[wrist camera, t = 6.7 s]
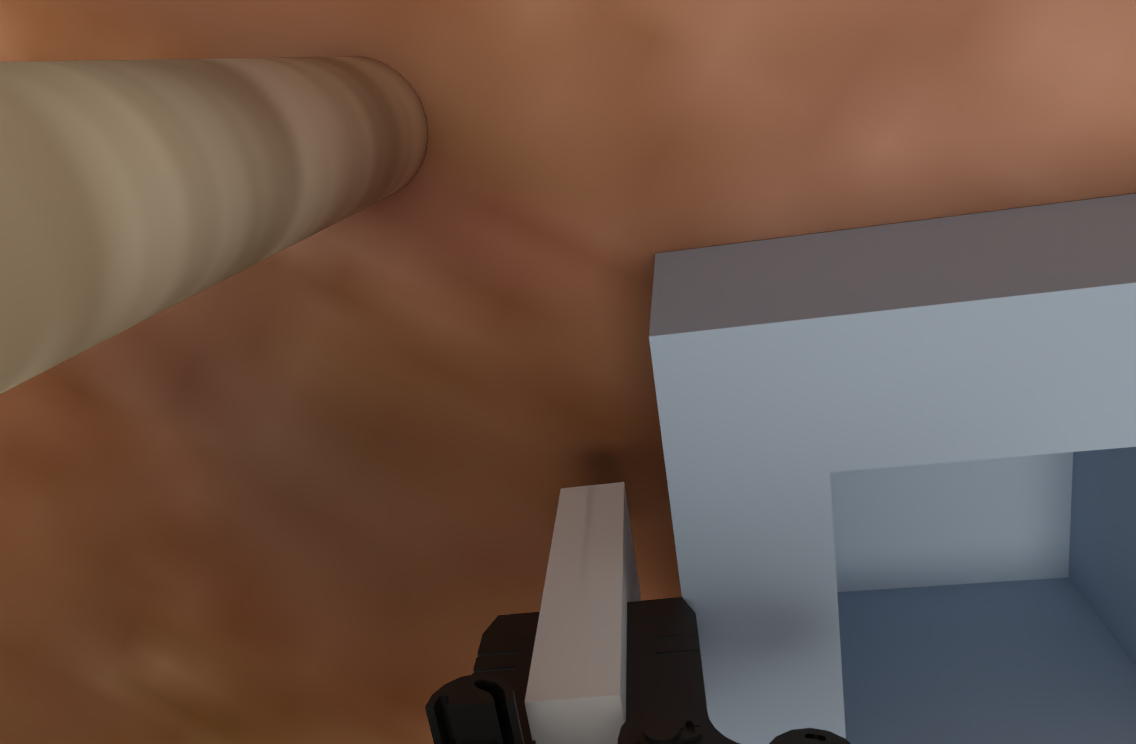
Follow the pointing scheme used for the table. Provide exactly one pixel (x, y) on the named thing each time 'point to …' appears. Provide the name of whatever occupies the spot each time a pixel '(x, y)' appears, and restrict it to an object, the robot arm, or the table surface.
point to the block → (909, 475)
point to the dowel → (176, 182)
